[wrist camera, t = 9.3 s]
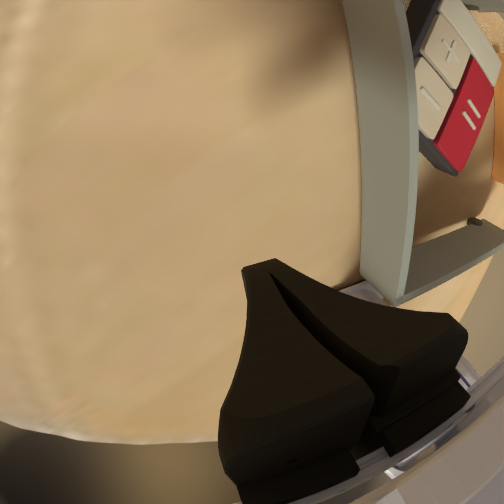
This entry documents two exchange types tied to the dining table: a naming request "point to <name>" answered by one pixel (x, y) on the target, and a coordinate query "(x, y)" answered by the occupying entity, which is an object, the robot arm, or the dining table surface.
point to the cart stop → (499, 126)
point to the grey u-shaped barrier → (400, 160)
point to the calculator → (450, 80)
